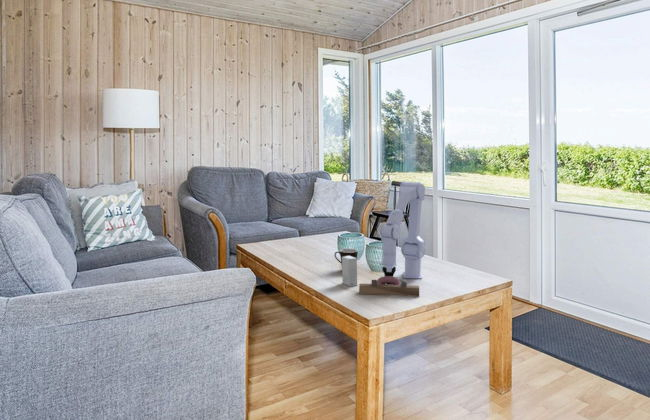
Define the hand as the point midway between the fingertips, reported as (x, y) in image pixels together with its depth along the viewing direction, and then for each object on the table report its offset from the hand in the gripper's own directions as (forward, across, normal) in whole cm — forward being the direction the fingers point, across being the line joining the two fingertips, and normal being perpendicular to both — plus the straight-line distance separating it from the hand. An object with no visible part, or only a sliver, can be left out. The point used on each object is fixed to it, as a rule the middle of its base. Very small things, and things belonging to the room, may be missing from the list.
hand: (388, 284), depth 193 cm
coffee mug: (+2, -25, -20) cm, 32 cm away
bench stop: (+1, +9, 0) cm, 9 cm away
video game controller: (+2, +4, 0) cm, 5 cm away
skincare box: (+2, -2, -17) cm, 17 cm away
